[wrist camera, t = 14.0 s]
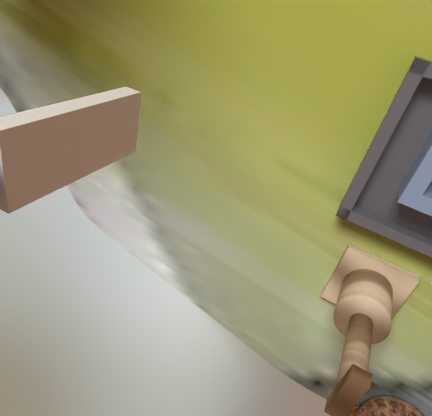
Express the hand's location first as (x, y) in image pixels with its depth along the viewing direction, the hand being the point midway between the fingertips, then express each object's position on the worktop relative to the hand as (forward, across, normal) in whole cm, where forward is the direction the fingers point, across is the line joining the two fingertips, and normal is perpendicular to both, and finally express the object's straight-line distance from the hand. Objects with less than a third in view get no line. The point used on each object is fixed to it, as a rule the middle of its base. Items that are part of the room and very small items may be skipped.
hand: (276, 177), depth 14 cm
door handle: (+21, +9, -17) cm, 28 cm away
